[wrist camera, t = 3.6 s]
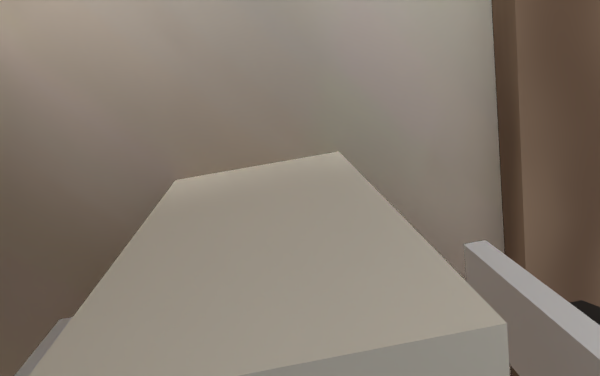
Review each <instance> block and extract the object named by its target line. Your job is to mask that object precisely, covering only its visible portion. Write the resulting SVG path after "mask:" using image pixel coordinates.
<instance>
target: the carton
mask: <svg viewBox="0 0 600 376" xmlns="http://www.w3.org/2000/svg"><path fill="white" fill-rule="evenodd" d="M29 376H510V370H509V351H508V332H507V323H506V322H505V321H504V320H503V319H502V317H501V316H500V315H499V314H498V313H497V312H496V311H495V310H494V309H493V308H492V307H491V306H490V305H489V304H488V303H487V302H486V301H485V300H484V299H483V298H482V297H481V296H480V295H479V294H478V293H477V292H476V291H475V290H474V289H473V288H472V287H471V286H470V285H469V284H468V283H467V282H466V281H465V280H464V279H463V278H462V277H461V276H460V275H459V274H458V273H457V272H456V270H455V269H454V268H453V267H452V266H451V265H450V264H449V263H448V262H447V261H446V260H445V259H444V258H443V257H442V256H441V255H440V254H439V253H438V252H437V251H436V250H435V249H434V248H433V247H432V246H431V245H430V244H429V243H428V242H427V241H426V240H425V239H424V238H423V237H422V236H421V235H420V234H419V233H418V232H417V231H416V230H415V229H414V228H413V227H412V226H411V224H410V223H409V222H408V221H407V220H406V219H405V218H404V217H403V216H402V215H401V214H400V213H399V212H398V211H397V210H396V209H395V208H394V207H393V206H392V205H391V204H390V203H389V202H388V201H387V200H386V199H385V198H384V197H383V196H382V195H381V194H380V193H379V192H378V191H377V190H376V189H375V188H374V187H373V186H372V185H371V184H370V183H369V182H368V181H367V180H366V179H365V177H364V176H363V175H362V174H361V173H360V172H359V171H358V170H357V169H356V168H355V167H354V166H353V165H352V164H351V163H350V162H349V161H348V160H347V159H346V158H345V157H344V156H343V155H342V154H341V153H340V152H339V151H338V152H332V153H326V154H321V155H315V156H309V157H304V158H298V159H292V160H287V161H281V162H275V163H270V164H264V165H258V166H253V167H247V168H241V169H236V170H230V171H224V172H219V173H213V174H207V175H202V176H196V177H190V178H185V179H179V180H175V181H174V183H173V184H172V185H171V187H170V188H169V189H168V191H167V192H166V193H165V195H164V196H163V197H162V199H161V200H160V201H159V203H158V204H157V205H156V207H155V208H154V209H153V211H152V212H151V213H150V215H149V216H148V217H147V219H146V220H145V221H144V223H143V224H142V225H141V227H140V228H139V229H138V231H137V232H136V233H135V235H134V236H133V237H132V239H131V240H130V241H129V243H128V244H127V245H126V247H125V248H124V249H123V251H122V252H121V253H120V255H119V256H118V257H117V259H116V260H115V261H114V263H113V264H112V265H111V267H110V268H109V269H108V271H107V272H106V273H105V275H104V276H103V277H102V279H101V280H100V281H99V283H98V284H97V285H96V287H95V288H94V289H93V291H92V292H91V293H90V295H89V296H88V297H87V299H86V300H85V301H84V303H83V304H82V305H81V307H80V308H79V309H78V311H77V312H76V313H75V315H74V316H73V317H72V319H71V320H70V321H69V323H68V324H67V325H66V327H65V328H64V329H63V331H62V332H61V333H60V335H59V336H58V337H57V339H56V340H55V341H54V343H53V344H52V345H51V347H50V348H49V349H48V351H47V352H46V353H45V355H44V356H43V357H42V359H41V360H40V361H39V363H38V364H37V365H36V367H35V368H34V369H33V371H32V372H31V373H30V375H29Z"/></svg>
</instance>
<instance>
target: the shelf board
mask: <svg viewBox="0 0 600 376" xmlns="http://www.w3.org/2000/svg"><path fill="white" fill-rule="evenodd" d="M492 13H493V33H494V52H495V71H496V90H497V109H498V129H499V148H500V167H501V186H502V205H503V225H504V244H505V255H506V256H508V257H509V258H510V259H512V260H513V261H514V262H516V263H517V264H518V265H520V266H521V267H522V268H524V269H525V270H526V271H528V272H529V273H530V274H532V275H533V276H534V277H536V278H537V279H538V280H540V281H541V282H542V283H544V284H545V285H547V286H548V287H549V288H551V289H552V290H553V291H555V292H556V293H557V294H559V295H560V296H561V297H563V298H564V299H565V300H567V301H568V302H574V301H580V300H583V301H585V302H588V303H591V304H593V305H596V306H599V307H600V0H492ZM511 376H519V375H518V373H517V372H516V371H515V370H514V369H513V368H512V366H511Z"/></svg>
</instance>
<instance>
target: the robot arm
mask: <svg viewBox="0 0 600 376" xmlns="http://www.w3.org/2000/svg"><path fill="white" fill-rule="evenodd" d="M464 257H465V270H466V282H467V283H468V284H469V285H470V286H471V287H472V288H473V289H474V290H475V291H476V292H477V293H478V294H479V295H480V296H481V297H482V298H483V299H484V300H485V301H486V302H487V303H488V304H489V305H490V306H491V307H492V308H493V309H494V310H495V311H496V312H497V313H498V314H499V315H500V316H501V317H502V319H503V320H504V321H505V322H506V323H507V332H508V351H509V364H510V365H511V366H512V368H513V369H514V370H515V371H516V372H517V373H518V375H519V376H600V307H599V306H596V305H593V304H591V303H588V302H585V301H583V300H580V301H574V302H568V301H567V300H565V299H564V298H563V297H561V296H560V295H559V294H557V293H556V292H555V291H553V290H552V289H551V288H549V287H548V286H547V285H545V284H544V283H542V282H541V281H540V280H538V279H537V278H536V277H534V276H533V275H532V274H530V273H529V272H528V271H526V270H525V269H524V268H522V267H521V266H520V265H518V264H517V263H516V262H514V261H513V260H512V259H510V258H509V257H508V256H506V255H505V254H504V253H502V252H501V251H500V250H498V249H497V248H496V247H494V246H493V245H492V244H490V243H489V242H488V241H486V240H483V241H477V242H472V243H467V244H464ZM71 319H72V317H70V318H64V319H59V321H58V322H57V323H56V324H55V326H54V327H53V328H52V329H51V331H50V332H49V333H48V334H47V336H46V337H45V338H44V339H43V340H42V342H41V343H40V344H39V345H38V347H37V348H36V349H35V350H34V352H33V353H32V354H31V355H30V357H29V358H28V359H27V360H26V362H25V363H24V364H23V365H22V367H21V368H20V369H19V370H18V372H17V373H16V374H15V375H14V376H29V375H30V373H31V372H32V371H33V369H34V368H35V367H36V365H37V364H38V363H39V361H40V360H41V359H42V357H43V356H44V355H45V353H46V352H47V351H48V349H49V348H50V347H51V345H52V344H53V343H54V341H55V340H56V339H57V337H58V336H59V335H60V333H61V332H62V331H63V329H64V328H65V327H66V325H67V324H68V323H69V321H70V320H71Z"/></svg>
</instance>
